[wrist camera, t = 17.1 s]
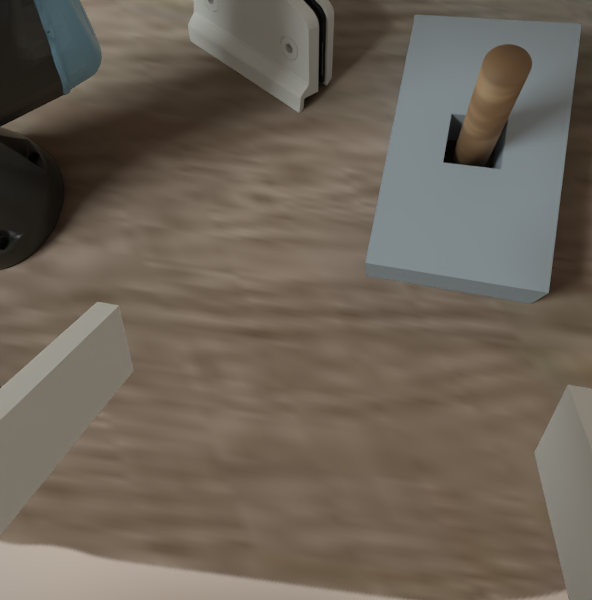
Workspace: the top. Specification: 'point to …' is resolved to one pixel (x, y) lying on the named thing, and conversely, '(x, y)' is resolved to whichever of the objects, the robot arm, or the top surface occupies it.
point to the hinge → (270, 42)
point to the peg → (491, 103)
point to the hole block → (472, 179)
